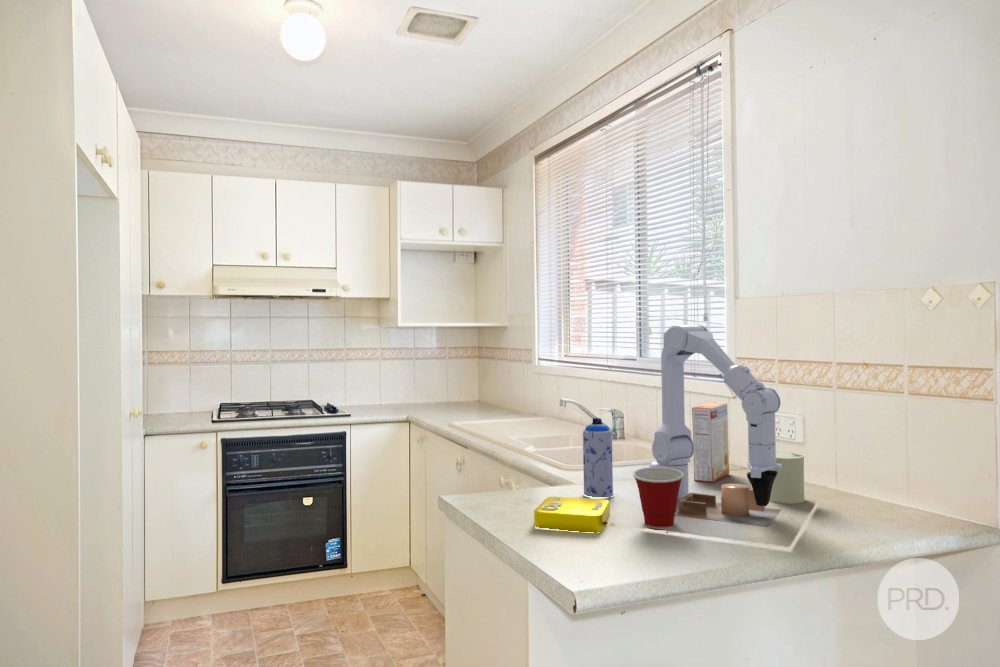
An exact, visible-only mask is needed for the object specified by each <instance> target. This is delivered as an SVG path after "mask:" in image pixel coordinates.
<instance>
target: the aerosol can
mask: <svg viewBox="0 0 1000 667" xmlns="http://www.w3.org/2000/svg"><path fill="white" fill-rule="evenodd" d="M582 447H583V448H582V450H583V451H582V453H583V455H582V457H583V458H582V460H583V493H584V494H585V495H587V496H592V497H611V496H613V495H614V484H613V483H614V481H613V480H614V478H613V477H614V476H613V475H614V474H613V433H612V429H611V428H610V427H609V426H608V425H606V424H605V423H604V422H602V418H600V417H594V418H592V422H590V423H589V424H587V425H586V427H585V428H584V429H583V431H582Z"/></svg>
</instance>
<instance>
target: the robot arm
mask: <svg viewBox="0 0 1000 667" xmlns="http://www.w3.org/2000/svg"><path fill="white" fill-rule="evenodd" d="M694 354H699V355H700V354H701V355H702V356H703V357H704V358H705V359H706V360H707V361H708V362H710V363H711V364H712V365H713V367H715V368H716V369H717V370H718V371H719V372H721V374H722V375H723V382H724V384H726V386H727V387H728V388H729V389H730V390H731V391H732V393H734V394H735V395H736V396H737V397H738V398H739V399H740V401H741V408H742V410H743V412H744V413H745V416H746V421H747V439H748V440H747V444H748V445H747V446H748V447H747V448H748V449H747V453H748V456H747V457H748V462H747V467H748V468H749V469H750V471H748V472H747V473H746V477H747V479H748V481H749V483H750V485H751V489H753V492H754V496H755V500H756V504H757V505H759V506H765V507H767V506H768V505H769V503H770V501H769V500H770V495H771V490H772V485H773V482H774V480H775V478H776V476H777V471H771V469H775V468H781V467H782V464H777V463H776V452H777V451H776V449H777V448H776V445H777V444H776V442H777V441H776V413H777V412H778V411H779V410H780V408H781V398H780V396H779V394H778V393H777V391H776V390H775V389H773V388H771V387H766V386H765V384H763V382H761V381H759V380H758V379H757V378H756V377H755V376H754V375H753V374H752V373H751V369H750V368H749V367H748V366H744V365H743V364H737V365H736V363H735V362H734V361H733V360H732V359H731V358H730V357H729V356H728V354H727V353H726V352H725V350H723V348H722V347H721V346H720V345H719V344H718V343H717V342H716V341H715V339H714V335H713V333H712V332H711V331H709V329H708V328H707V327H705V326H704V325H703V324H696V325H678V324H674V325H672V326H670V327H669V328H668V329H667V330H666V331H665V332H664V333H663V348H662V350H661V355H660V356H661V357H660V359H661V360H660V366H661V367H660V368H661V418H662V420H661V421H662V423H661V425H660V426H659V427H658V428H657V430H655V432H654V439H653V442H652V444H651V452H652V456H653V458H654V459H655V460H656V461H652V462H651V463H650V465H649V467H666V468H673V469H677V470H680V471H681V472H683V474H684V476H683V478H682V480H681V484H680V488H679V493H678V499H679V500H680V499H682V498H684V497H685V496H686V495H688V494H689V493H690V491H689V490H690V489H689V463H691V458H692V457H694V456H693V454H694V450H695V447H694V443H693V436H692V431H691V429H690V428H689V427H688V426H687V425H686V422H685V421H686V420H685V418H686V417H685V416H686V415H685V414H686V413H685V375H684V374H685V371H684V369H685V366H684V364H685V362H686V361H687V360H688V359H689V358H690V357H691V356H692V355H694Z"/></svg>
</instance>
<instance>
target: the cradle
mask: <svg viewBox="0 0 1000 667" xmlns="http://www.w3.org/2000/svg"><path fill="white" fill-rule="evenodd" d="M716 496H717V495H716V494H706V493H698V492H697V493H696V492H689V494H688V495H686V496H685V497H684V498H680V499H679V500H678V512H677V513H675V516H677V517H684V518H692V519H700V520H709V521H718V522H726V523H731V524H732V523H733V524H740V525H750V526H751V525H752V526H758V527H765V528H768V527H769V526H771V524H772V523H773V521H774V520H775V518H776V517H777V515H779V513H780V512H781V511H782V509H780V508H773V507H772V508H771V507H765V511H755V510H749V515H748V516H741V517H737V516H728V515H725V514H722V513H721V502H717V497H716Z"/></svg>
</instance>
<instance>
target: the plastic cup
mask: <svg viewBox="0 0 1000 667" xmlns="http://www.w3.org/2000/svg"><path fill="white" fill-rule="evenodd" d="M683 476H684V474H683V472H681V471H680V470H677V469H673V468H666V467H650V466H649V467H641V468H639V469H636V470H634V471H633V472H632V477H633V478H634V479H635V482H636V485H637V488H638V493H639V498H640V499H639V500H640V504H641V510H642V511H641V512H642V514H643V518H644V524H645V525H646V526H649V527H648V529H650V530H654V531H664V529H661V528H668V527H672V526H673V525H674V523H675V518H676V517H675V515H676V514H677V513H676V512H677V504H678V501H679V500H678V493H679V488H680V484H681V480H682V478H683Z"/></svg>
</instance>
